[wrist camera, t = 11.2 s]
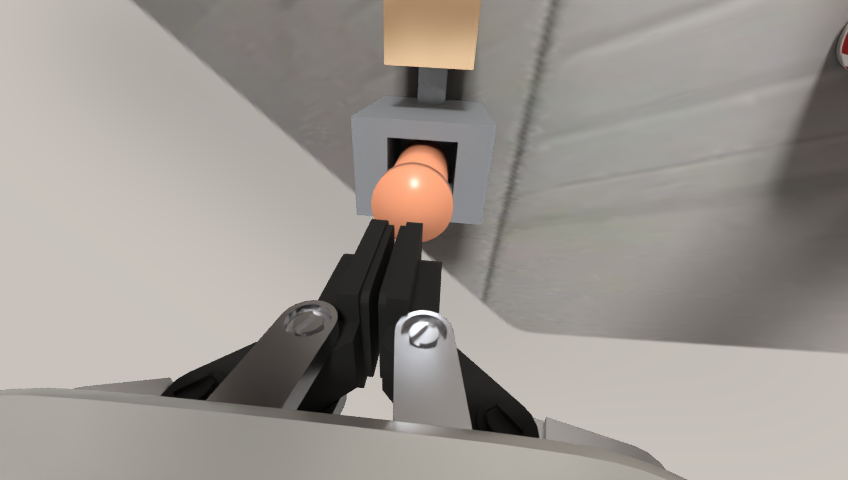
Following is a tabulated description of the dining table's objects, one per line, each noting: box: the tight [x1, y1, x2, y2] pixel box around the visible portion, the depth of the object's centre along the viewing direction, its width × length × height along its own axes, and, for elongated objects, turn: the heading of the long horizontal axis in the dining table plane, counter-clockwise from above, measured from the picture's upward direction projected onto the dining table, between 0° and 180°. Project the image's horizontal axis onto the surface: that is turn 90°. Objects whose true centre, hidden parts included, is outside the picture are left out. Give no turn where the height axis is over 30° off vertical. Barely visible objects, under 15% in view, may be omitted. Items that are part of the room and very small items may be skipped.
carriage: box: [383, 0, 481, 70], centre depth 20 cm, size 6×5×8 cm
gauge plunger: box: [371, 140, 453, 242], centre depth 18 cm, size 4×4×7 cm
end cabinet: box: [351, 96, 497, 225], centre depth 23 cm, size 6×8×10 cm
